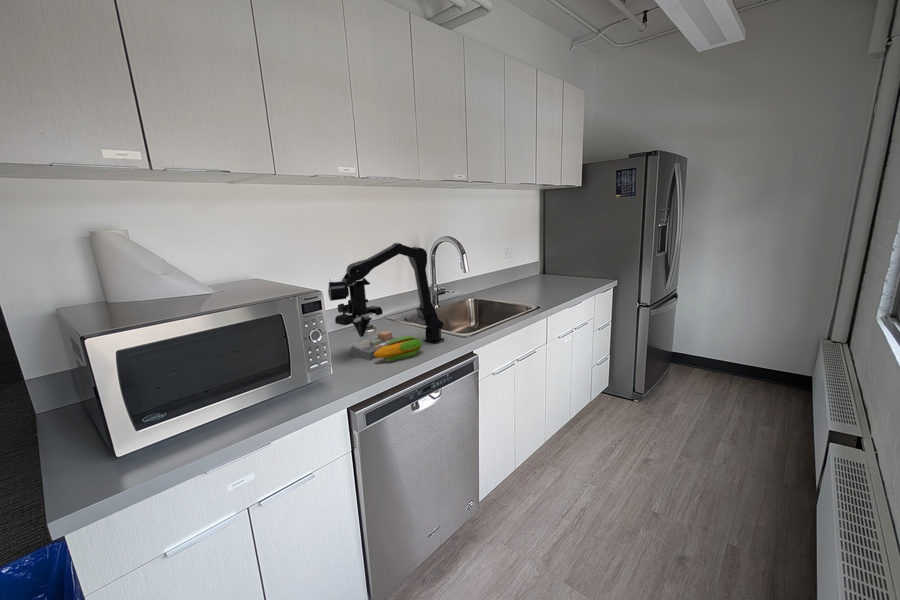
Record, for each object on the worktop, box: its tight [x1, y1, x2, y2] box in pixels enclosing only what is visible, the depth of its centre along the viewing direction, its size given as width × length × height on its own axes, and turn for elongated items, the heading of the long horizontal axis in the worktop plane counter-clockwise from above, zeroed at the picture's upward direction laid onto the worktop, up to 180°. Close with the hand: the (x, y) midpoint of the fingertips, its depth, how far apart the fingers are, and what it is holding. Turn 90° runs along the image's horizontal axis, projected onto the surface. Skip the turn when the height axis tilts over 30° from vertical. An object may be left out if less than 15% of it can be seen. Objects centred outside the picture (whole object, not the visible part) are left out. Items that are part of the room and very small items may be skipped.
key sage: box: [369, 337, 382, 345], centre depth 160 cm, size 4×4×4 cm
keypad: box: [349, 336, 401, 361], centre depth 159 cm, size 18×11×3 cm, turn 143°
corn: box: [374, 335, 423, 362], centre depth 150 cm, size 7×8×20 cm
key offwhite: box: [353, 338, 370, 350], centre depth 155 cm, size 4×4×4 cm
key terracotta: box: [376, 330, 393, 341], centre depth 165 cm, size 4×4×4 cm
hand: (361, 336), depth 155 cm, fingers closed
